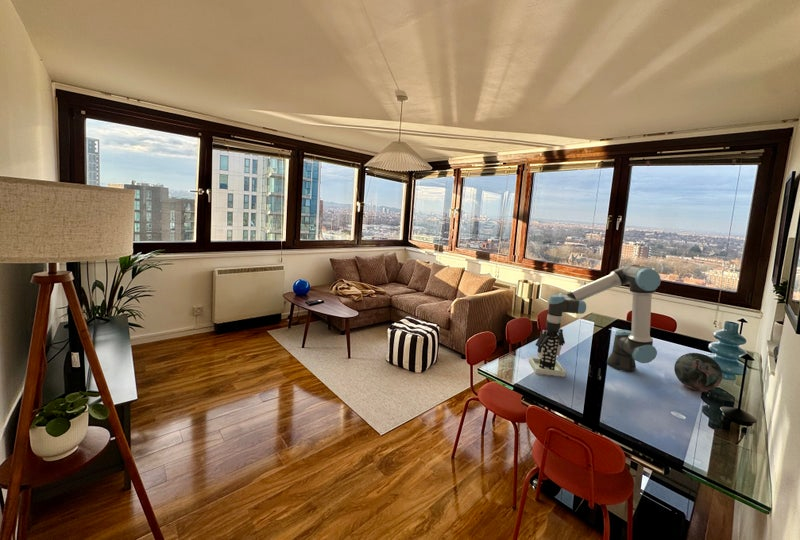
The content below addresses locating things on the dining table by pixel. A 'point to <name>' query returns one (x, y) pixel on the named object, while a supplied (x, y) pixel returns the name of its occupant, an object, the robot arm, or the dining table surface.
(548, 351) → the spotted tube
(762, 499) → the dining table surface
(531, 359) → the tray
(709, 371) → the decorative sphere
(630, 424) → the dining table surface
